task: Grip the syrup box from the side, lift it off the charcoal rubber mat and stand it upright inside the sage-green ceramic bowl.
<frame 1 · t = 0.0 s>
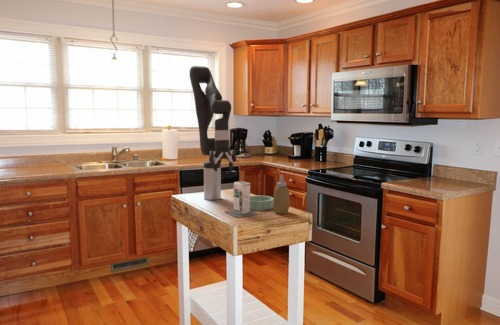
hand: (223, 170, 204), 17 cm above the worktop, tool pointing down, fingers open, 8 cm apart
syrup box: (241, 213, 185), resting on mat
bowl: (259, 206, 198), on the worktop
mat: (241, 213, 185), on the worktop
squeeze bottle: (281, 213, 186), on the worktop
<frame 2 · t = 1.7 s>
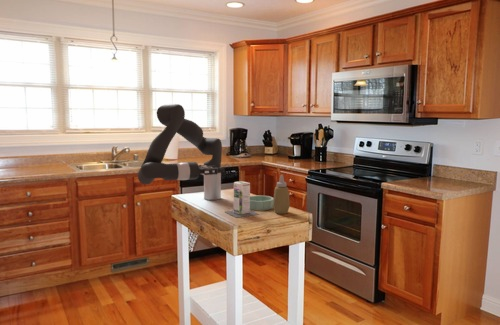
hand: (220, 168, 177), 22 cm above the worktop, tool horizontal, fingers open, 8 cm apart
nothing on the worktop moved.
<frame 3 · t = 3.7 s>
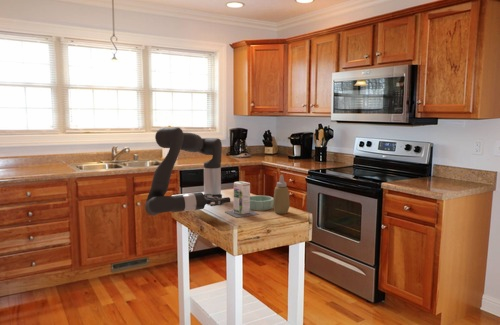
hand: (225, 197, 180), 8 cm above the worktop, tool horizontal, fingers open, 8 cm apart
nothing on the worktop moved.
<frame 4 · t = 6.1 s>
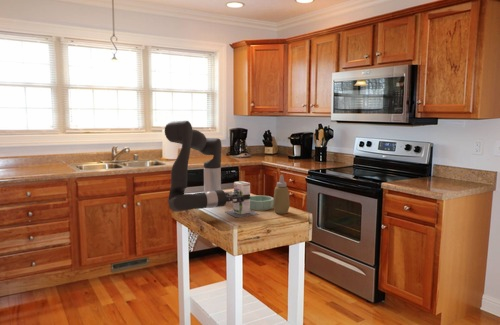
hand: (245, 195, 185), 8 cm above the worktop, tool horizontal, fingers closed on syrup box, 6 cm apart
syrup box: (241, 213, 185), resting on mat, touching gripper
everything else where it was.
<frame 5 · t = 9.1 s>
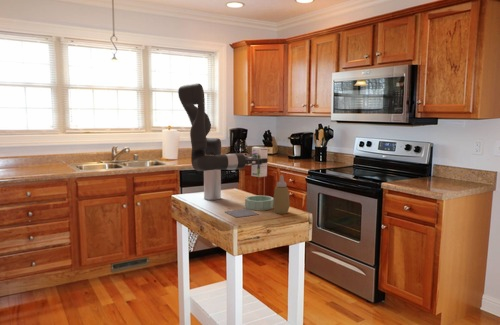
hand: (263, 159, 196), 24 cm above the worktop, tool horizontal, fingers closed on syrup box, 6 cm apart
syrup box: (259, 176, 196), point 15 cm above the worktop, touching gripper
everything else where it was.
when the fingers open (10 cm above the worktop, at t = 12.3 s): syrup box drops 1 cm, resting on bowl.
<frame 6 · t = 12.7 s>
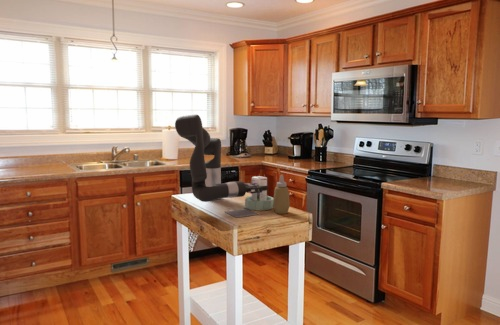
hand: (262, 186, 198), 10 cm above the worktop, tool horizontal, fingers open, 8 cm apart
syrup box: (259, 205, 198), point 1 cm above the worktop, touching bowl
everything else where it was.
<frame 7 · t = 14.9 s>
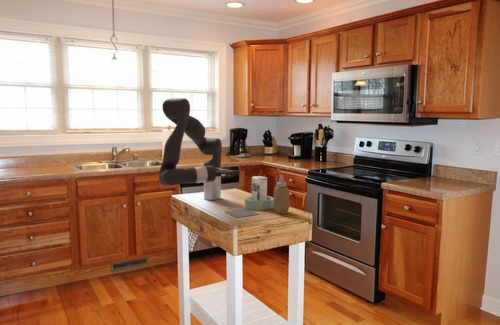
hand: (234, 171, 188), 19 cm above the worktop, tool horizontal, fingers open, 8 cm apart
nothing on the worktop moved.
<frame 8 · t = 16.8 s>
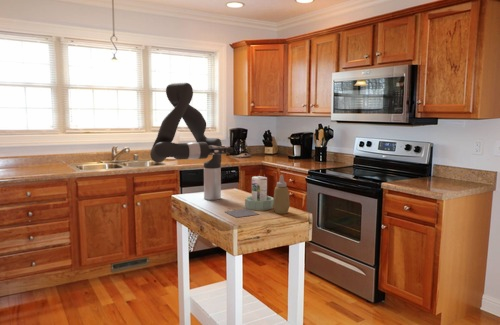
hand: (228, 149, 184), 30 cm above the worktop, tool horizontal, fingers open, 8 cm apart
nothing on the worktop moved.
at the end: syrup box 0.2 cm from the bowl (horizontally); syrup box point 0.6 cm above the worktop; syrup box tilted 0° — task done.
